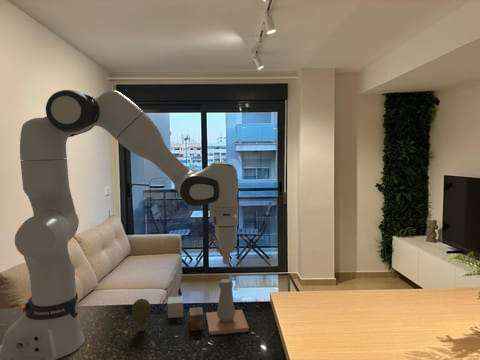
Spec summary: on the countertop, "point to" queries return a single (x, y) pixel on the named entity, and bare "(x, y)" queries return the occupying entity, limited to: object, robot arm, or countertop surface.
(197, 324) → the walnut block
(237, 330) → the terracotta tile
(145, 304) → the light bulb
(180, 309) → the pale grey block
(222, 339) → the countertop surface
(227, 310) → the salt shaker
